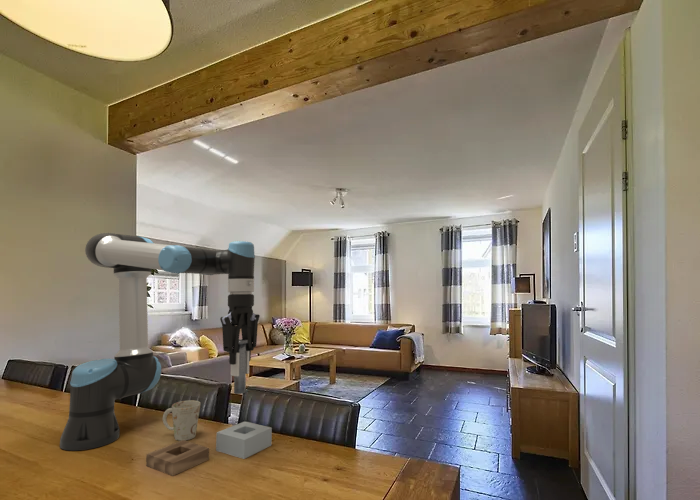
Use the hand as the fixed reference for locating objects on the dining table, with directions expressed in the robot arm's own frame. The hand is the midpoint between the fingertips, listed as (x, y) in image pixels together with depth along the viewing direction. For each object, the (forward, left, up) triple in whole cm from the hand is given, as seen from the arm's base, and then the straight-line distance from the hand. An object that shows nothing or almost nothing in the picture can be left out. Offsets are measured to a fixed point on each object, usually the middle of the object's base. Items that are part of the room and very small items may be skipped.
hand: (240, 374), depth 116 cm
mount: (-8, -14, -21) cm, 27 cm away
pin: (0, 0, -5) cm, 5 cm away
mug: (-24, -2, -21) cm, 32 cm away
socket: (0, +2, -21) cm, 21 cm away
